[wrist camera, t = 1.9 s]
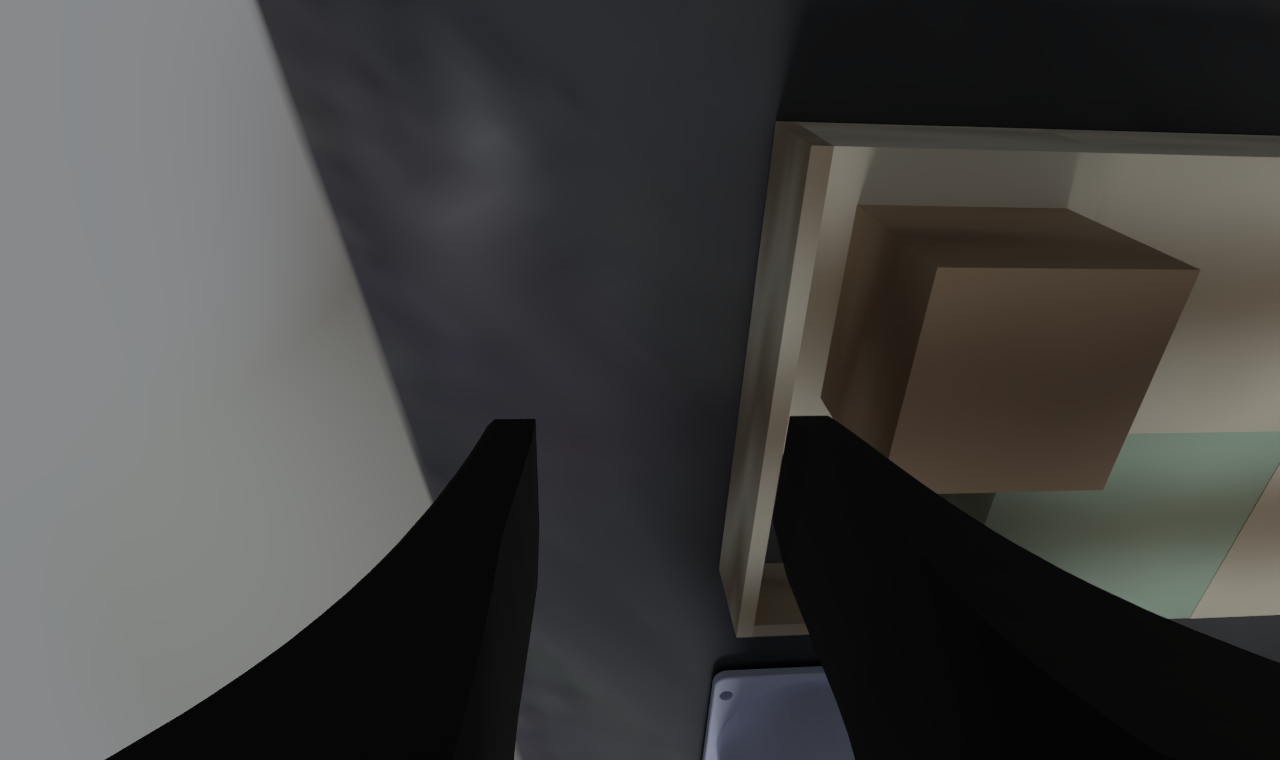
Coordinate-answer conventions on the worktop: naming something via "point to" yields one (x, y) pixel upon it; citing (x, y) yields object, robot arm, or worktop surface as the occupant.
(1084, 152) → the trap board
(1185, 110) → the worktop surface
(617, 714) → the worktop surface
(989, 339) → the walnut block
